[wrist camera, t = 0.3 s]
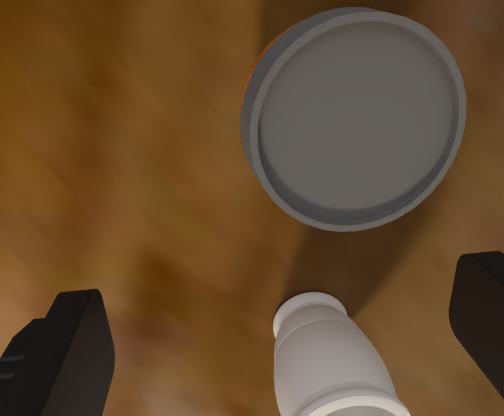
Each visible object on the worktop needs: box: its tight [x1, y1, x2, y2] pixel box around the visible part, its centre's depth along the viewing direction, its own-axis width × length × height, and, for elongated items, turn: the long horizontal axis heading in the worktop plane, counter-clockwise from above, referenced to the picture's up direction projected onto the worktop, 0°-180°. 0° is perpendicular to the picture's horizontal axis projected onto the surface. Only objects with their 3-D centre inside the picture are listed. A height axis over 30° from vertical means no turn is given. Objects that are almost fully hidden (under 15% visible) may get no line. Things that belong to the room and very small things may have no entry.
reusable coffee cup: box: [240, 7, 466, 232], centre depth 30 cm, size 13×13×15 cm
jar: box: [273, 292, 411, 416], centre depth 40 cm, size 11×10×15 cm
